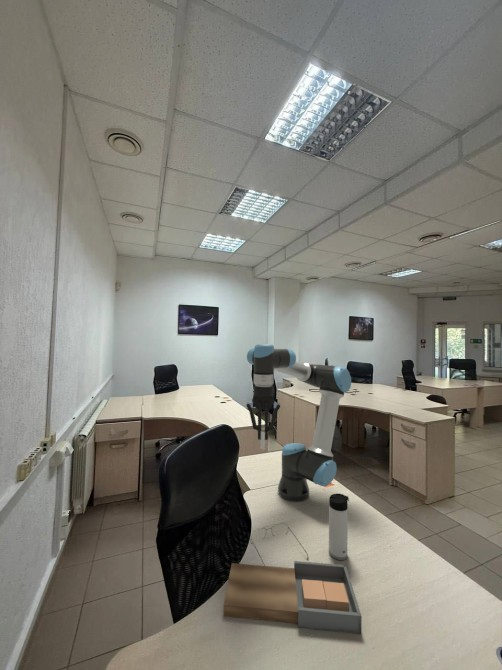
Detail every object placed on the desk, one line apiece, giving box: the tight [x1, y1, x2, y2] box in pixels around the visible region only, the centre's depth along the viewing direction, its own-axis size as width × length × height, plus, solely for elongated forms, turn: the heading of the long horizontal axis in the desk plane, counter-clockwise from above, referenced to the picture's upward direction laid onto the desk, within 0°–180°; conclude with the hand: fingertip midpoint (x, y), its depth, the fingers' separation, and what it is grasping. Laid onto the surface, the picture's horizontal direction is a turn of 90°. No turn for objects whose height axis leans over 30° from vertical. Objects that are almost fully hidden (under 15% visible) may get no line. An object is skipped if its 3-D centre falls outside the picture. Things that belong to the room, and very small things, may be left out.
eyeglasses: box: [250, 522, 309, 566], centre depth 98 cm, size 16×15×5 cm
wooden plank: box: [223, 562, 298, 624], centre depth 81 cm, size 14×20×3 cm
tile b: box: [323, 582, 349, 612], centre depth 79 cm, size 6×6×2 cm
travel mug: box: [328, 493, 350, 561], centre depth 97 cm, size 6×7×20 cm
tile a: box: [302, 580, 326, 609], centre depth 79 cm, size 6×6×2 cm
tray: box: [293, 560, 362, 635], centre depth 79 cm, size 16×16×4 cm
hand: (262, 448), depth 103 cm, fingers closed
